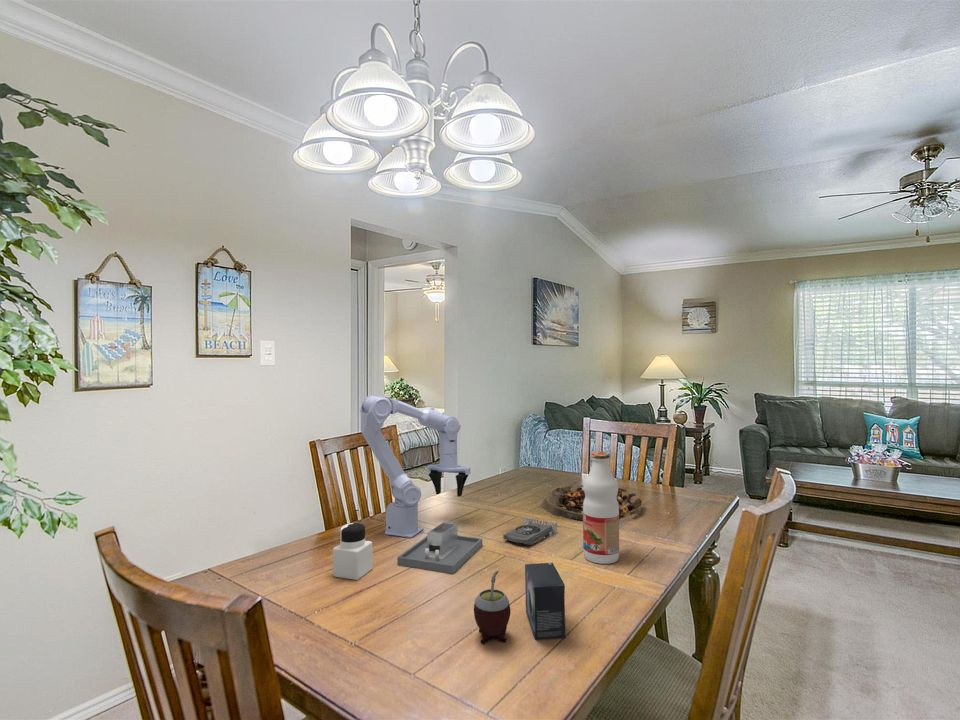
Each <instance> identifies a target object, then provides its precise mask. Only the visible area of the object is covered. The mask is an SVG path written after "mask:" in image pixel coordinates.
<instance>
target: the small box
mask: <svg viewBox="0 0 960 720" xmlns="http://www.w3.org/2000/svg"><path fill="white" fill-rule="evenodd" d="M524 580H525V581H524V583H525V614H526V616H527V619H528V622H529V625H530V629H531V632H532V635H533V636H534V637H533V638H534V640H536V641H539V640H554V639H555V640H556V639H566V637H567V633H566V632H567V631H566V608H565V607H566V603H565V602H566V601H565V597H566V596H565V589H566V586H565V583H564V581H563V579H562V577H561V576H560V574H559V572H558V570H557V567H556V566H555V565H554V563H553V562H542V563H540V562H538V563H525V564H524Z"/></svg>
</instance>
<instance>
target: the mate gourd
mask: <svg viewBox="0 0 960 720" xmlns="http://www.w3.org/2000/svg"><path fill="white" fill-rule="evenodd" d="M498 574H499V570H497V571H495V572H494V573H493V575H492V576H491V580H490V583H491V586H490V589H485V590H482V591H480V592H479V593H478V594H477V597H476V598H475V600H474V604H473V615H474V621H475V623H476V626H477V627H478V632H479V633H480V634H481V640H480V644H482V645H485V644H487V643H488V642H489V641H491V640H492V639H494V640H496V641H498V642H500V643H503V644H505V643H506V642H507V638H505V636H506V633H507V630H508V629H507V628H508V624H509V621H510V617H511V606H510V600H509V598H508V596H507V595H506V593H505V592H504V591H501V590H499V589H495V583H496V577H497V575H498Z"/></svg>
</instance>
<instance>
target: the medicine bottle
mask: <svg viewBox="0 0 960 720" xmlns="http://www.w3.org/2000/svg"><path fill="white" fill-rule="evenodd" d="M339 533H340V536H339V537H340V544H338V545H337V546H334V547H333V549H332V571H333V572H332V573H333V574H332V576H333V577H334V578H341V579H348V580H353V581H359V579H361V578H363V577H364V576H366V574H367V573H369V572H371V570H373V542H372V541H370V540H366V526H365V524H363V523H359V522H352V523H351V522H349V523H346V524H344V525H342V526H341V527H340V531H339Z"/></svg>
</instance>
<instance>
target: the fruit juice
mask: <svg viewBox="0 0 960 720" xmlns="http://www.w3.org/2000/svg"><path fill="white" fill-rule="evenodd" d="M610 457H611V456H610V453H609V452H608V451H593V452H592V451H591V453H590V460H591V467H590V471H589V473H588V474H587V476H586V477H585V478H584V480H583V484H582V486H583V488H582V490H584V493H585V499H584V502H583V520H582V534H583V536H582V537H583V538H582V539H583V540H582V542H583V543H582V546H583V547H582V548H583V549H582V550H583V551H582V552H583V557H584V558H585V559H586V560H587V561H589V562H592V563H595V564H601V565H610V564H614V563H616V562H618V561H619V558H620V519H619V505H618V501H617V498H616V497H617V494H618V488H619V483H618V481H617V479H616V478H615V477H614V476H613V474H612V471H611V468H610V463H609V462H610V459H611V458H610Z"/></svg>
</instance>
